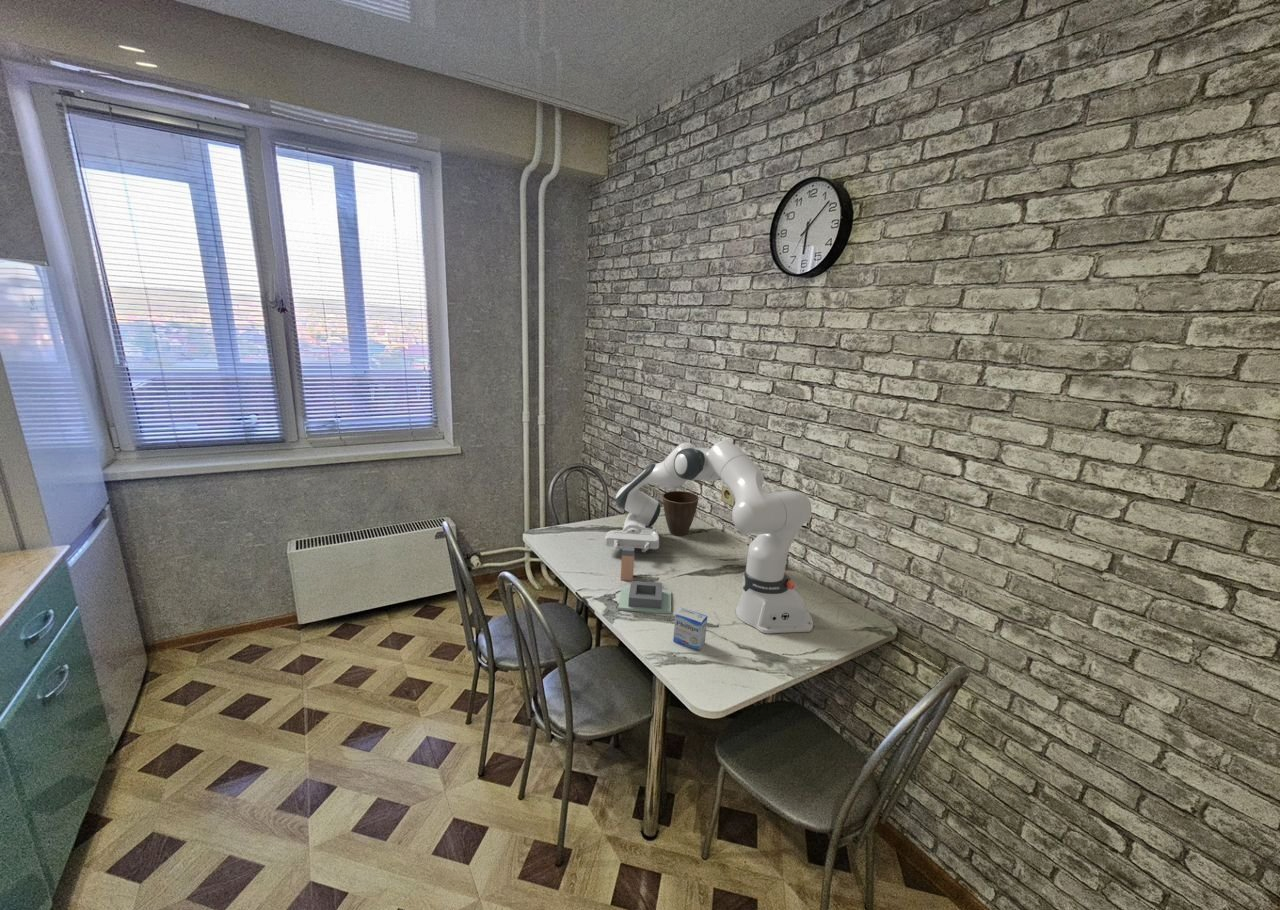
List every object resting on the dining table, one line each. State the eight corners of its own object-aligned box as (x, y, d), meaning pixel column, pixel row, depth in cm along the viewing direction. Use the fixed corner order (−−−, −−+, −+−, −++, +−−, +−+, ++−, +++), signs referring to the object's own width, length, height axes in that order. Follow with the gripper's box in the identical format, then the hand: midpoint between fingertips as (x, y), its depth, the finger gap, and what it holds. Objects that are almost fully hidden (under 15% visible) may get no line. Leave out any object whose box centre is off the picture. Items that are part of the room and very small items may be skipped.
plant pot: (656, 536, 201) (658, 499, 197) (665, 523, 215) (667, 488, 211) (692, 542, 197) (695, 505, 193) (698, 528, 211) (701, 493, 207)
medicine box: (672, 641, 134) (674, 614, 132) (679, 633, 138) (681, 606, 136) (699, 651, 131) (702, 623, 128) (705, 642, 135) (707, 614, 132)
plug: (633, 574, 169) (634, 545, 166) (632, 580, 165) (633, 551, 162) (621, 574, 169) (623, 544, 166) (620, 579, 165) (621, 550, 162)
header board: (670, 592, 159) (671, 582, 158) (670, 613, 147) (671, 602, 146) (621, 589, 159) (622, 578, 158) (618, 609, 148) (618, 598, 147)
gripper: (607, 524, 188) (602, 539, 175) (659, 527, 187) (659, 542, 174) (606, 539, 190) (601, 555, 177) (659, 542, 189) (658, 559, 176)
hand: (630, 549), depth 175 cm, fingers open, 8 cm apart
